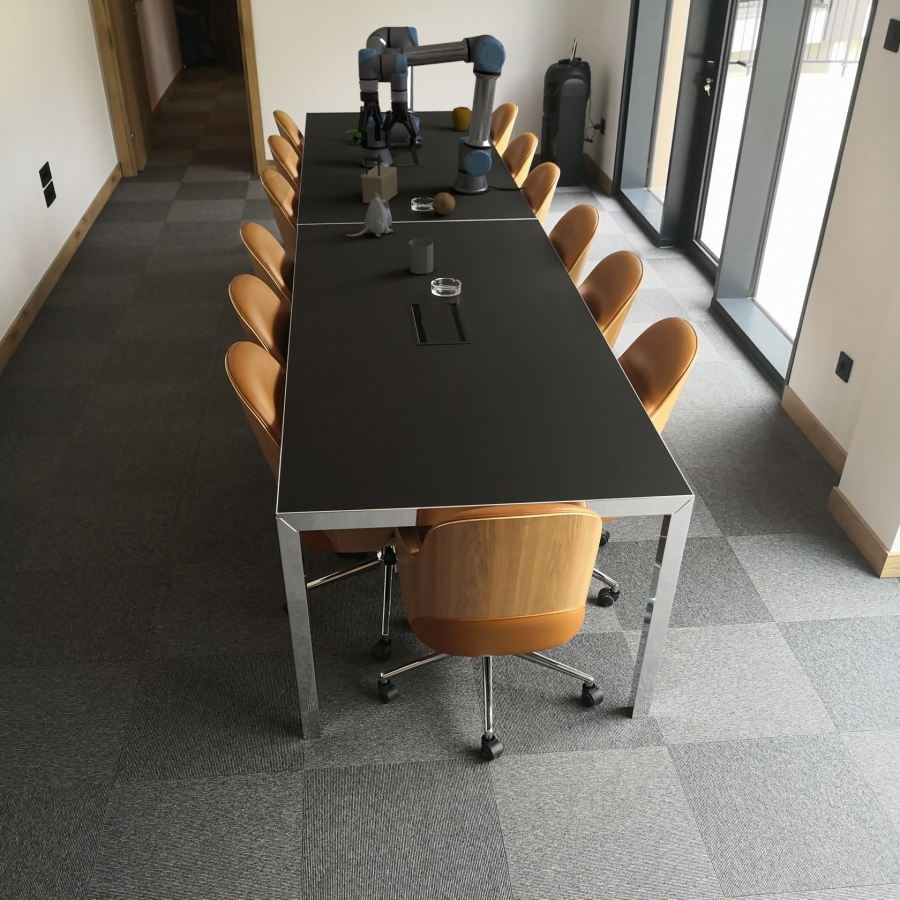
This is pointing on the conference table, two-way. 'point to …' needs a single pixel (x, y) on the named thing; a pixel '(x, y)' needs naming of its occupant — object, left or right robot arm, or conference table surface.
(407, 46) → the left robot arm
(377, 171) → the lid
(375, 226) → the toy
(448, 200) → the potato
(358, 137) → the green dinosaur
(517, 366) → the conference table surface
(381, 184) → the chest
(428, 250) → the cup
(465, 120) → the apple
